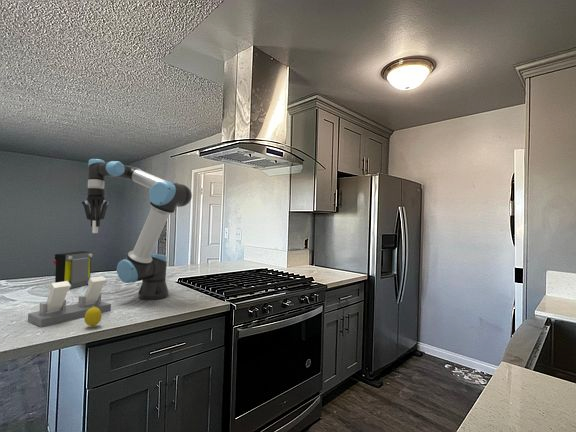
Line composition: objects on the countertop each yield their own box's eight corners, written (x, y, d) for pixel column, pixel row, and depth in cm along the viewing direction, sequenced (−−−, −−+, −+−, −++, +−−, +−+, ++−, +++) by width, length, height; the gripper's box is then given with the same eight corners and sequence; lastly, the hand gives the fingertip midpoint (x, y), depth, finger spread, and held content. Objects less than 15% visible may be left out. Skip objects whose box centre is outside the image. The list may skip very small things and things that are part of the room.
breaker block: (27, 320, 119) (28, 302, 120) (96, 306, 142) (97, 290, 142) (40, 327, 113) (41, 307, 114) (110, 310, 136) (111, 294, 136)
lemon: (89, 324, 118) (90, 304, 118) (103, 324, 118) (104, 304, 119) (80, 329, 113) (81, 308, 113) (96, 329, 113) (97, 308, 113)
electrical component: (66, 290, 168) (68, 255, 169) (52, 289, 170) (53, 254, 171) (92, 284, 186) (94, 252, 186) (79, 282, 188) (80, 251, 188)
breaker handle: (80, 301, 132) (89, 277, 129) (94, 298, 137) (103, 275, 134) (83, 306, 131) (92, 282, 128) (97, 303, 136) (106, 280, 133)
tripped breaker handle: (42, 309, 120) (51, 283, 117) (58, 305, 125) (67, 280, 122) (45, 314, 119) (54, 287, 116) (61, 310, 124) (70, 285, 120)
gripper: (112, 189, 163) (111, 232, 162) (87, 189, 162) (86, 233, 160) (105, 187, 156) (104, 232, 154) (78, 187, 154) (77, 233, 153)
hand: (95, 232), depth 157 cm, fingers closed
